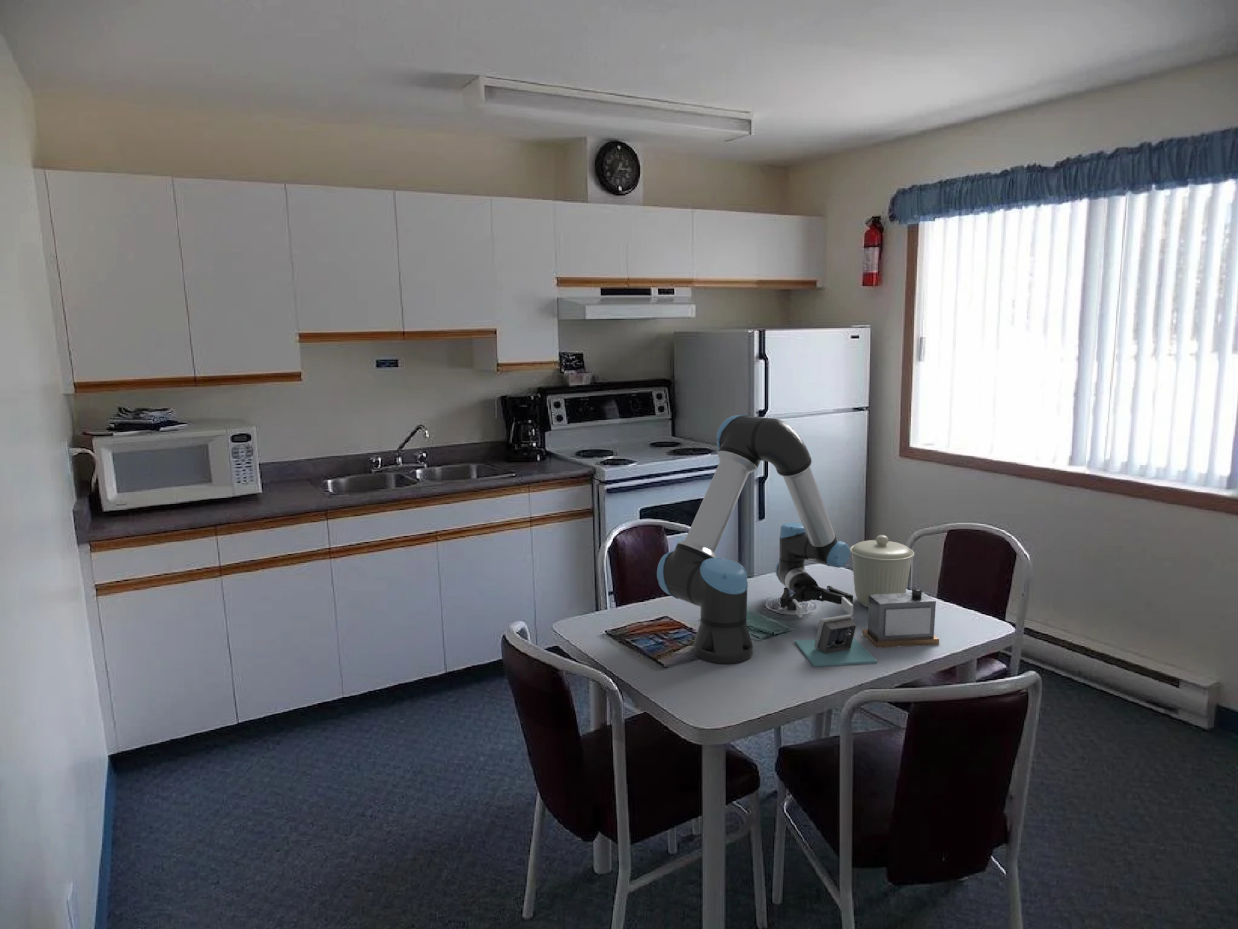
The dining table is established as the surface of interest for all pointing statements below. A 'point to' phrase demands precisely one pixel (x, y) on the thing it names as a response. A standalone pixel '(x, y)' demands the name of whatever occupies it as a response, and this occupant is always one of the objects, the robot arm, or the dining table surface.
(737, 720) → the dining table surface
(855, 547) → the canister
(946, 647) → the dining table surface
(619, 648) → the dining table surface
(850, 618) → the electrical switch
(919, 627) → the junction box
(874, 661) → the service mat
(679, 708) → the dining table surface
